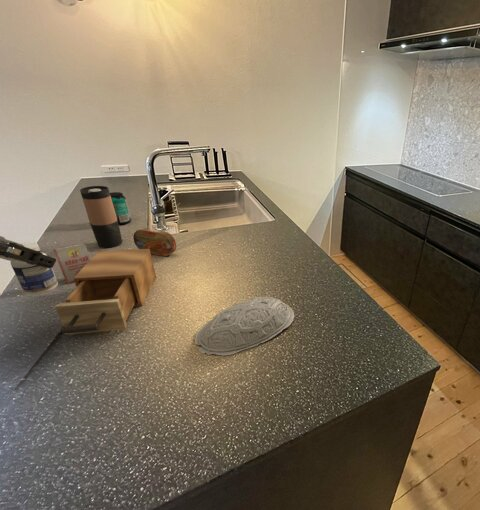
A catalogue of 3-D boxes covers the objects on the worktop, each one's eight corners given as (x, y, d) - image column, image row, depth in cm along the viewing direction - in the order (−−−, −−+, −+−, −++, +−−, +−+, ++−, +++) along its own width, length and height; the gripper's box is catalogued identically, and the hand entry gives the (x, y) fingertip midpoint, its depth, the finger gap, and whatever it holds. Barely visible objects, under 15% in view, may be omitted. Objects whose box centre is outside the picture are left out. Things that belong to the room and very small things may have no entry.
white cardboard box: (65, 278, 88) (52, 247, 84) (93, 271, 93) (83, 241, 88) (66, 283, 86) (54, 252, 81) (96, 276, 90) (86, 246, 86)
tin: (135, 250, 106) (129, 228, 102) (142, 247, 108) (137, 225, 105) (173, 258, 103) (168, 235, 99) (179, 254, 106) (175, 232, 102)
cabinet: (142, 305, 80) (133, 274, 76) (85, 310, 77) (73, 278, 72) (156, 277, 92) (149, 248, 88) (107, 280, 89) (98, 250, 85)
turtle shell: (307, 320, 79) (304, 298, 76) (210, 371, 64) (203, 346, 61) (276, 297, 89) (273, 277, 87) (187, 336, 75) (180, 313, 72)
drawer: (117, 344, 66) (107, 316, 63) (54, 352, 63) (40, 322, 60) (142, 295, 82) (136, 270, 79) (93, 299, 79) (83, 274, 76)
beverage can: (118, 218, 129) (111, 191, 124) (135, 220, 129) (128, 192, 124) (106, 224, 123) (98, 195, 117) (124, 226, 123) (116, 197, 117)
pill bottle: (23, 287, 64) (3, 245, 60) (57, 278, 67) (40, 238, 63) (24, 298, 61) (4, 255, 56) (60, 289, 64) (43, 248, 60)
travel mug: (121, 237, 114) (107, 184, 105) (125, 245, 109) (110, 190, 100) (96, 242, 109) (78, 187, 100) (98, 250, 104) (80, 193, 95)
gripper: (-120, 240, 48) (6, 271, 63) (-55, 257, 45) (59, 285, 60) (-88, 198, 50) (25, 238, 66) (-25, 212, 47) (78, 250, 63)
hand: (41, 260), depth 63 cm, fingers closed on pill bottle, 5 cm apart
